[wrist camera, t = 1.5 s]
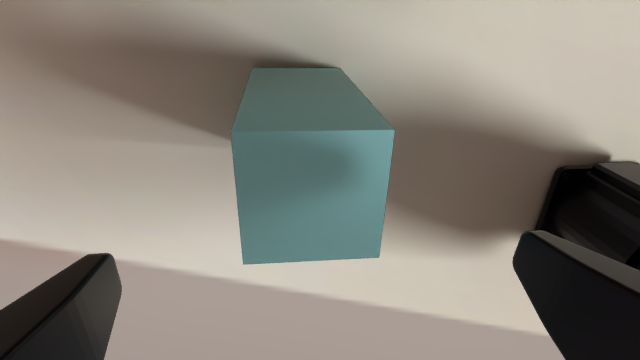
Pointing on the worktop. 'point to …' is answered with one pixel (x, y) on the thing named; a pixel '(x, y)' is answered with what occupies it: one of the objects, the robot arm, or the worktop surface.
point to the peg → (309, 167)
